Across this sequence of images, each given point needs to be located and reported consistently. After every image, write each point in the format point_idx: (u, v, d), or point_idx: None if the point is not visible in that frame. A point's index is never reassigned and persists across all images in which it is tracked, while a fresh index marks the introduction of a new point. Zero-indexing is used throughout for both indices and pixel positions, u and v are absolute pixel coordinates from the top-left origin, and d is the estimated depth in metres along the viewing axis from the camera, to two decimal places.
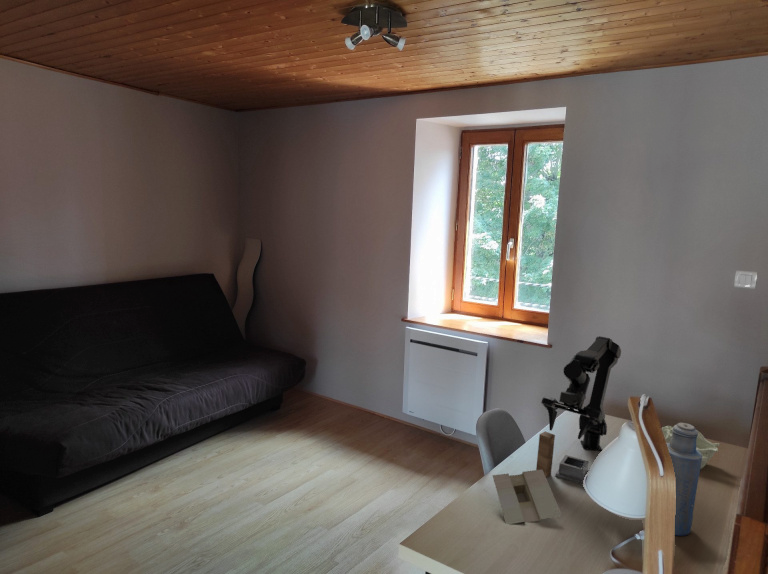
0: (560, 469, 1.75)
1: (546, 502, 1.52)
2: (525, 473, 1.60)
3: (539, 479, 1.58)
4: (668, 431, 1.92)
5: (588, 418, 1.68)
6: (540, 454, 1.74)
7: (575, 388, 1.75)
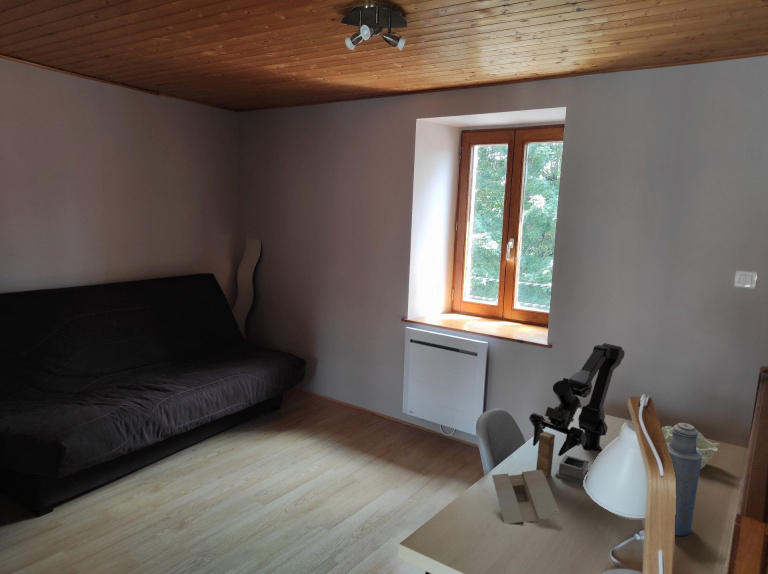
0: (560, 469, 1.75)
1: (545, 503, 1.52)
2: (525, 473, 1.60)
3: (538, 479, 1.58)
4: (668, 431, 1.92)
5: (570, 436, 1.71)
6: (540, 454, 1.74)
7: (563, 407, 1.79)
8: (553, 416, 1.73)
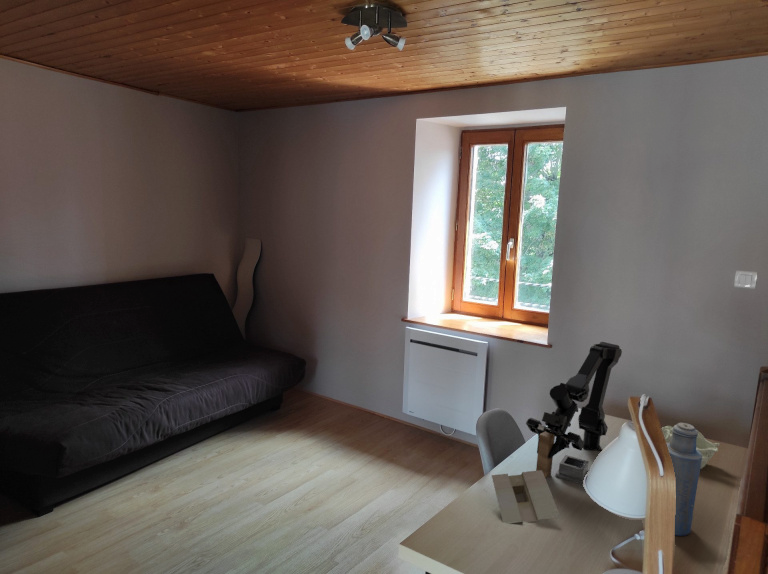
0: (560, 469, 1.75)
1: (544, 503, 1.52)
2: (525, 473, 1.60)
3: (538, 480, 1.58)
4: (668, 431, 1.92)
5: (560, 438, 1.72)
6: (540, 454, 1.74)
7: (560, 412, 1.78)
8: (550, 421, 1.72)
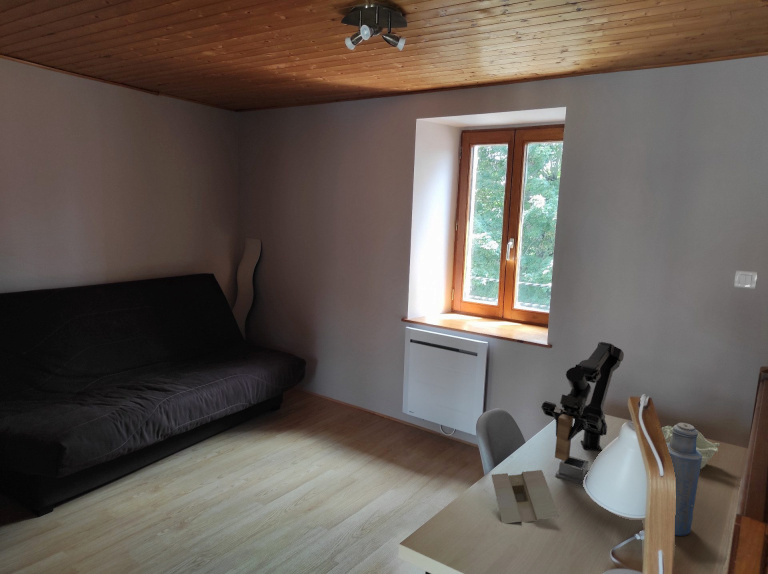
0: (560, 469, 1.75)
1: (544, 503, 1.52)
2: (525, 473, 1.60)
3: (538, 480, 1.57)
4: (668, 431, 1.92)
5: (579, 420, 1.72)
6: (559, 437, 1.73)
7: (576, 394, 1.77)
8: (569, 404, 1.71)
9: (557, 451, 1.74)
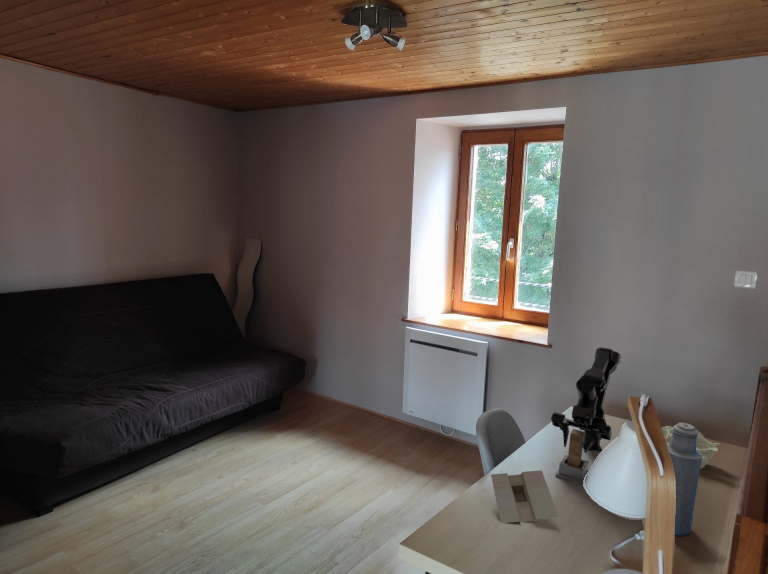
0: (560, 469, 1.75)
1: (543, 503, 1.51)
2: (524, 473, 1.59)
3: (537, 480, 1.57)
4: (668, 431, 1.92)
5: (595, 431, 1.72)
6: (571, 452, 1.74)
7: (585, 404, 1.79)
8: (581, 415, 1.72)
9: None
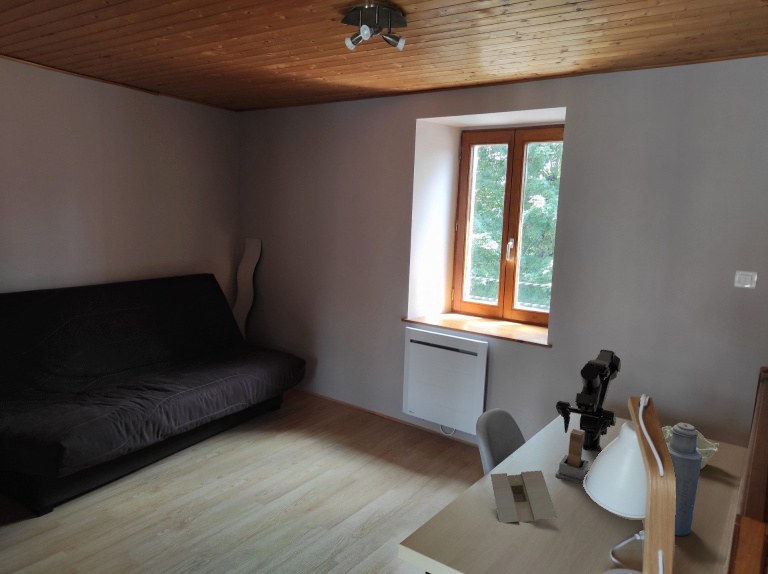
0: (560, 469, 1.75)
1: (542, 503, 1.51)
2: (524, 473, 1.59)
3: (537, 480, 1.57)
4: (668, 431, 1.92)
5: (603, 418, 1.75)
6: (571, 452, 1.74)
7: (589, 392, 1.82)
8: (585, 401, 1.76)
9: None
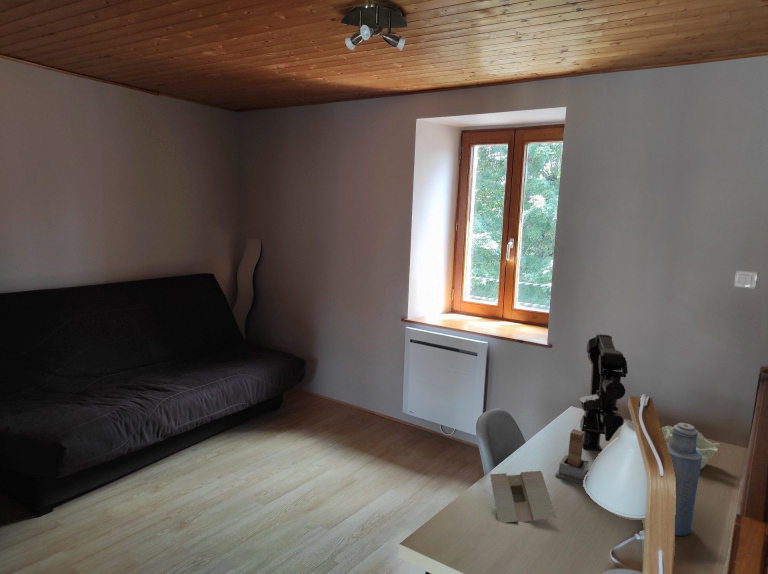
0: (560, 469, 1.75)
1: (541, 504, 1.51)
2: (523, 473, 1.59)
3: (537, 480, 1.57)
4: (668, 431, 1.92)
5: (601, 422, 1.71)
6: (571, 452, 1.74)
7: (599, 390, 1.76)
8: (582, 407, 1.77)
9: None
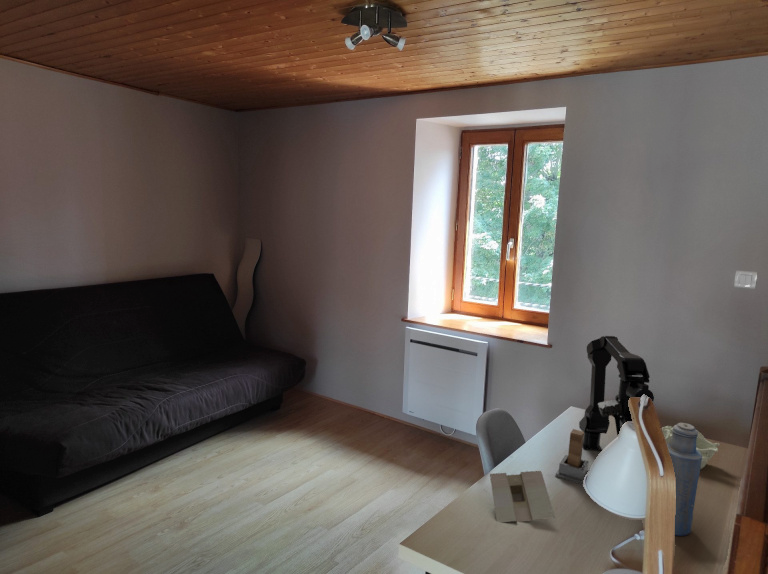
0: (560, 469, 1.75)
1: (540, 504, 1.51)
2: (523, 473, 1.59)
3: (536, 480, 1.57)
4: (668, 431, 1.92)
5: None
6: (571, 452, 1.74)
7: (618, 396, 1.72)
8: (601, 413, 1.73)
9: None
